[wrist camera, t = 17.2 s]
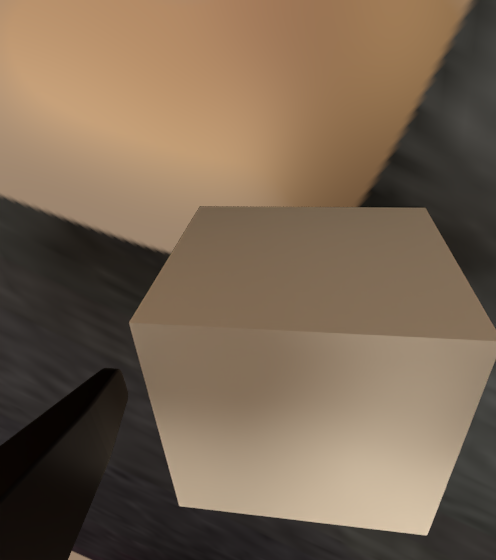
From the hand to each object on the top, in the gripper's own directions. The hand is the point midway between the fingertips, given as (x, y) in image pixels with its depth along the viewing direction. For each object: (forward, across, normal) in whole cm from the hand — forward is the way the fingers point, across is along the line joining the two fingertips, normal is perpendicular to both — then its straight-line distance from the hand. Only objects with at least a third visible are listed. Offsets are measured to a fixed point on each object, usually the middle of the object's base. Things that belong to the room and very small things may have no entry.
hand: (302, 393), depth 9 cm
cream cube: (+7, 0, +2) cm, 7 cm away
